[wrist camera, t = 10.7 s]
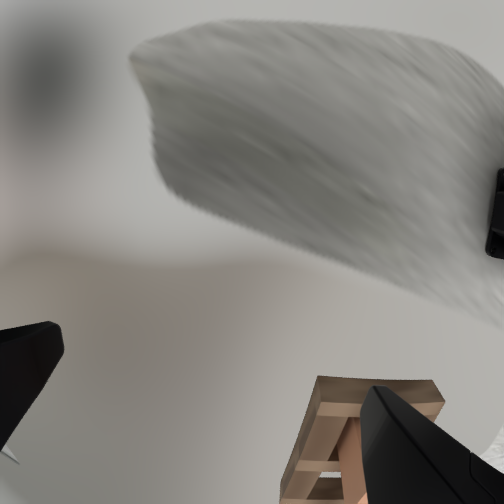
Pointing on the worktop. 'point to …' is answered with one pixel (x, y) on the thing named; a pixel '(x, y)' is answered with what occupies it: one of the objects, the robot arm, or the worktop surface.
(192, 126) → the worktop surface
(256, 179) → the worktop surface
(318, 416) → the socket block
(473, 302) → the worktop surface
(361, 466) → the tan rectangular block
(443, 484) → the robot arm
